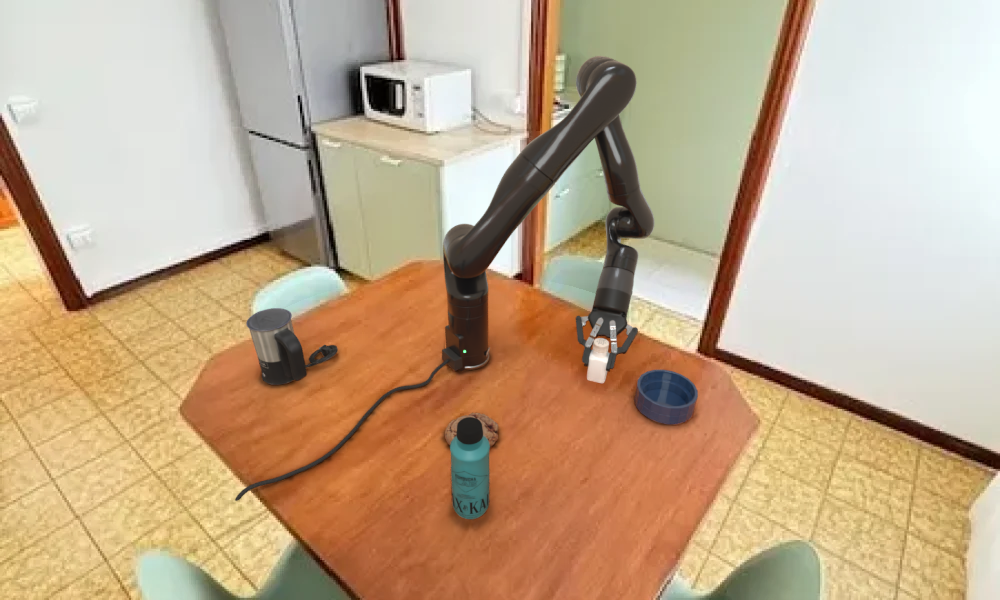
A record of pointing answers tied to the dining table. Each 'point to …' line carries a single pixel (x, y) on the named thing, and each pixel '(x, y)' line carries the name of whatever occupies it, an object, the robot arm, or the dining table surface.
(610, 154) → the robot arm
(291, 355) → the milk frother
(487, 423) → the cookie
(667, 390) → the bowl
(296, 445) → the dining table surface
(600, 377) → the salt shaker
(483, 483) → the beverage bottle
